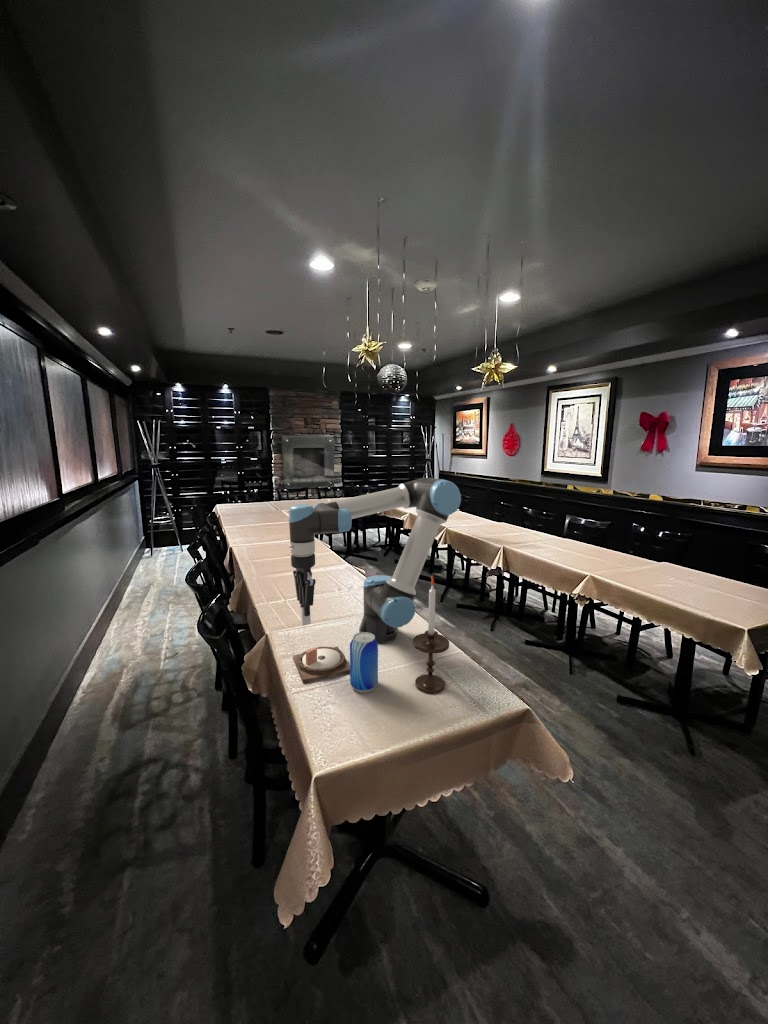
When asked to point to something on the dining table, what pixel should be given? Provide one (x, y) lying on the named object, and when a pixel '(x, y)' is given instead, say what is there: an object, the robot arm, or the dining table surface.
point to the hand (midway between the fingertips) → (305, 623)
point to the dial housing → (319, 674)
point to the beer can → (364, 662)
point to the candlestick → (430, 650)
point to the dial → (321, 658)
